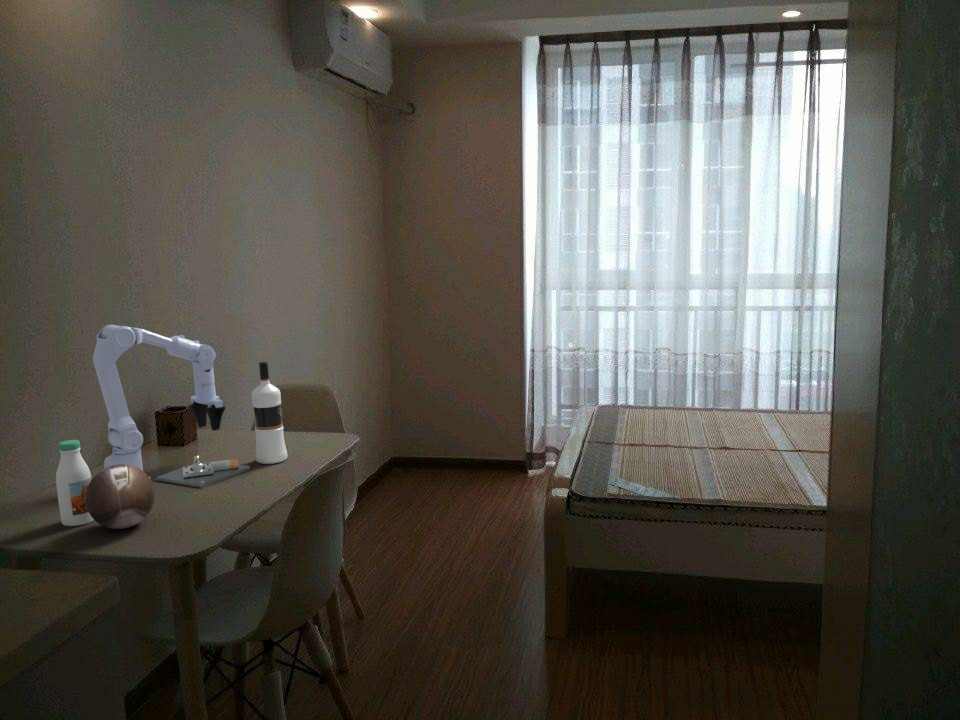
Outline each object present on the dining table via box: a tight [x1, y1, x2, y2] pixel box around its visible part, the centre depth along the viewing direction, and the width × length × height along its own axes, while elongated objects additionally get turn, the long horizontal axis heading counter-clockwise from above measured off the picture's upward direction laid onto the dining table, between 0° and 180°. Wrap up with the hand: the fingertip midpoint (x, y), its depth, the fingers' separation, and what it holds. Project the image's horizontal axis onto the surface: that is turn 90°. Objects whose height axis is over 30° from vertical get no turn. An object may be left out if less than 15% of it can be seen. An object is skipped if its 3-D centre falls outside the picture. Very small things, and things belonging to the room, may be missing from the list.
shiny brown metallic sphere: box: [85, 464, 156, 530], centre depth 192 cm, size 15×15×15 cm
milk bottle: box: [55, 439, 95, 527], centre depth 197 cm, size 8×8×20 cm
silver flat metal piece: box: [182, 457, 240, 478], centre depth 233 cm, size 15×8×2 cm, turn 111°
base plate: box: [155, 455, 251, 489], centre depth 233 cm, size 18×18×4 cm
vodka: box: [251, 361, 289, 465], centre depth 242 cm, size 9×9×30 cm
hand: (209, 428), depth 245 cm, fingers open, 7 cm apart
